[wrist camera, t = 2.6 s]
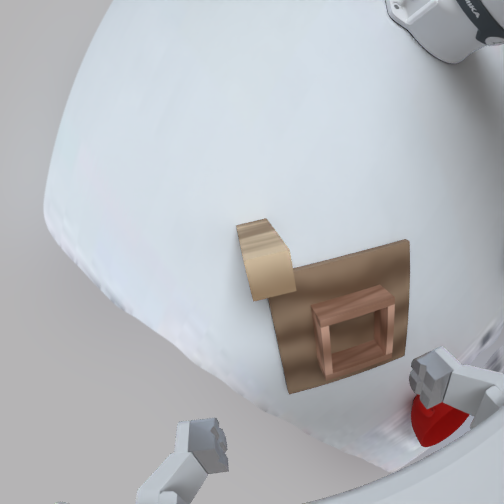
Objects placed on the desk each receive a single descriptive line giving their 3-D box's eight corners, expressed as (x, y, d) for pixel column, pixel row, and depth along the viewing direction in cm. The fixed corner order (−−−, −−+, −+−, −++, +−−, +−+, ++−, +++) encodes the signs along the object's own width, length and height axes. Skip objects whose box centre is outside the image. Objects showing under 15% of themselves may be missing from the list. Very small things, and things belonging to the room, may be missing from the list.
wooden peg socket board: (263, 275, 35) (269, 293, 30) (405, 239, 36) (426, 250, 31) (287, 390, 42) (294, 412, 37) (401, 352, 42) (416, 369, 37)
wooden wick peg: (236, 225, 33) (243, 260, 22) (266, 218, 33) (289, 249, 22) (242, 254, 34) (253, 301, 23) (272, 247, 34) (296, 290, 23)
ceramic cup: (427, 357, 44) (456, 389, 34) (456, 380, 48) (479, 407, 39) (379, 405, 46) (400, 442, 37) (416, 420, 50) (434, 449, 41)
